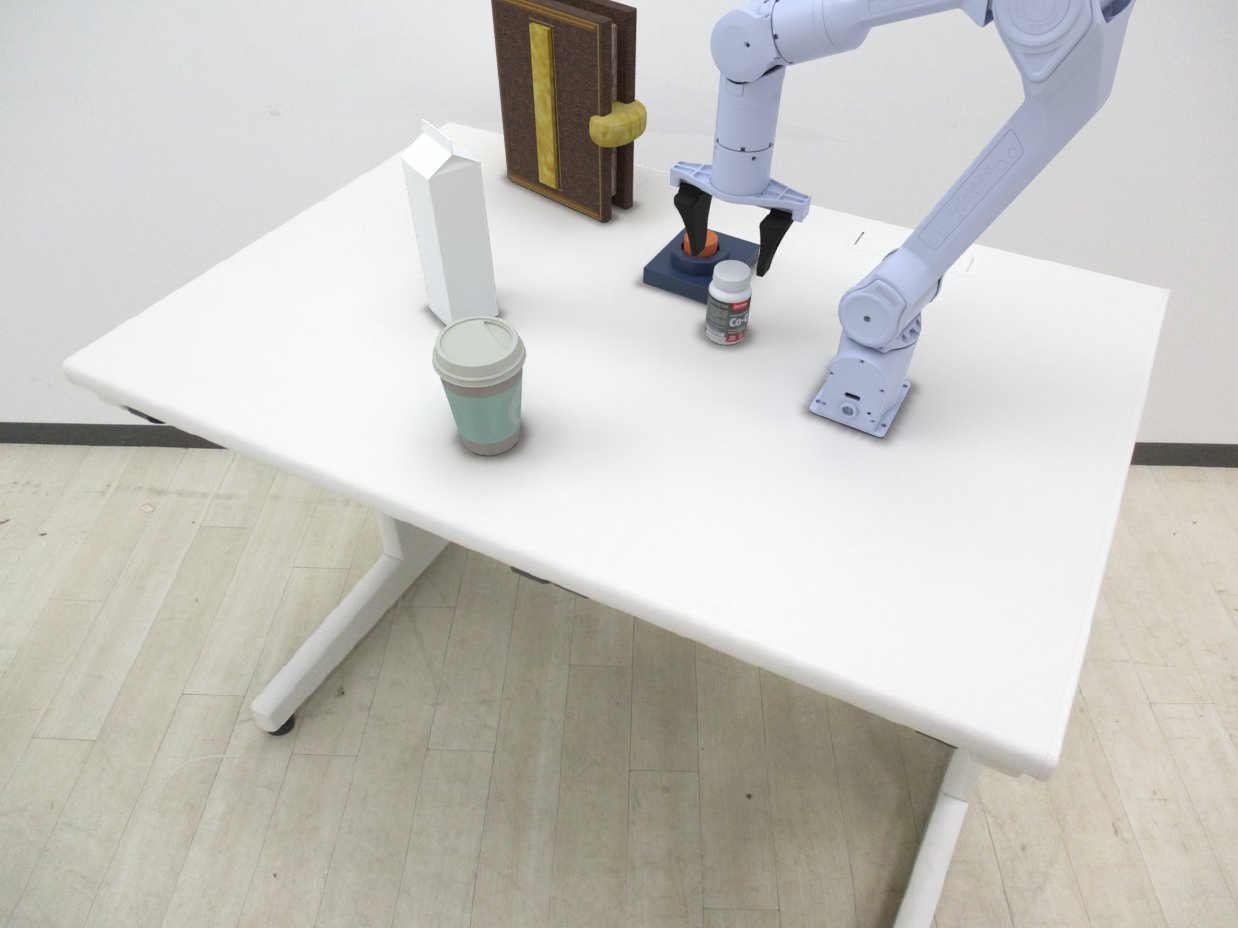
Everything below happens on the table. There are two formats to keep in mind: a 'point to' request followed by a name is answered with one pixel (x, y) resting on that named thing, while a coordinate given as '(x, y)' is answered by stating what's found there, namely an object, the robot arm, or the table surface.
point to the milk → (450, 226)
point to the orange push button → (709, 247)
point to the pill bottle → (728, 302)
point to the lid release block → (695, 265)
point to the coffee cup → (482, 380)
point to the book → (570, 100)
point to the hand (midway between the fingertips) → (730, 261)
